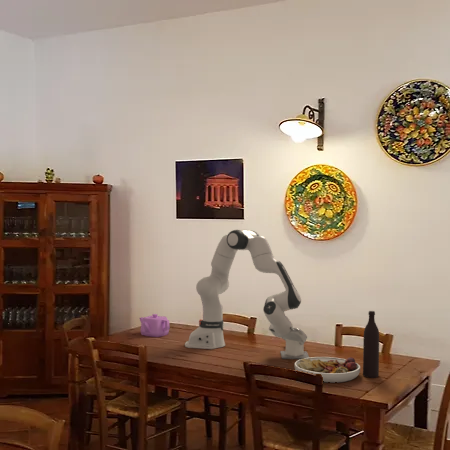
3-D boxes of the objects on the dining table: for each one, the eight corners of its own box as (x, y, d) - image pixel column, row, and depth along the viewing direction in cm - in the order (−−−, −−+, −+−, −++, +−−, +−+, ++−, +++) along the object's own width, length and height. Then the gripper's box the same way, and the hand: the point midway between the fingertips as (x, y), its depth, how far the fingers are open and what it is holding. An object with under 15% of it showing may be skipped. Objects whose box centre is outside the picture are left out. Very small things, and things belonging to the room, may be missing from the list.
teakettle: (170, 336, 361) (170, 316, 360) (142, 338, 357) (142, 317, 356) (166, 331, 377) (166, 311, 377) (139, 332, 373) (139, 312, 373)
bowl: (310, 387, 263) (310, 369, 262) (284, 369, 292) (285, 352, 291) (372, 382, 271) (372, 364, 270) (341, 365, 300) (342, 349, 299)
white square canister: (295, 356, 312) (295, 336, 311) (285, 354, 317) (285, 334, 316) (303, 354, 316) (303, 334, 316) (293, 352, 321) (293, 332, 321)
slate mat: (282, 358, 310) (282, 353, 310) (280, 352, 324) (280, 346, 324) (309, 359, 309) (309, 353, 309) (306, 352, 323) (306, 347, 323)
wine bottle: (376, 373, 283) (377, 310, 282) (380, 378, 276) (381, 312, 275) (361, 373, 283) (362, 310, 282) (365, 378, 276) (366, 312, 275)
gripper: (302, 324, 304) (314, 341, 311) (271, 318, 318) (283, 334, 325) (296, 334, 301) (308, 351, 308) (265, 328, 315) (277, 344, 322)
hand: (295, 342), depth 317 cm, fingers open, 8 cm apart
